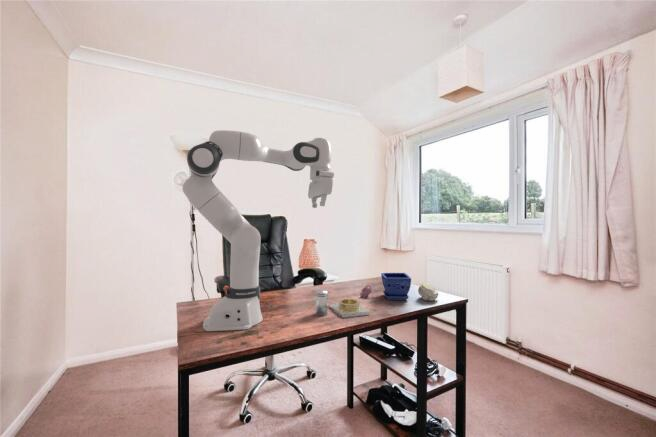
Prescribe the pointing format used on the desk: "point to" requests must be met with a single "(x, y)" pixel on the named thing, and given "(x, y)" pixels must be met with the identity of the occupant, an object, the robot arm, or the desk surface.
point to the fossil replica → (427, 292)
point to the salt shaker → (321, 302)
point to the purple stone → (366, 290)
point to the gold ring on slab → (349, 308)
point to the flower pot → (396, 285)
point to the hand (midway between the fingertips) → (318, 206)
